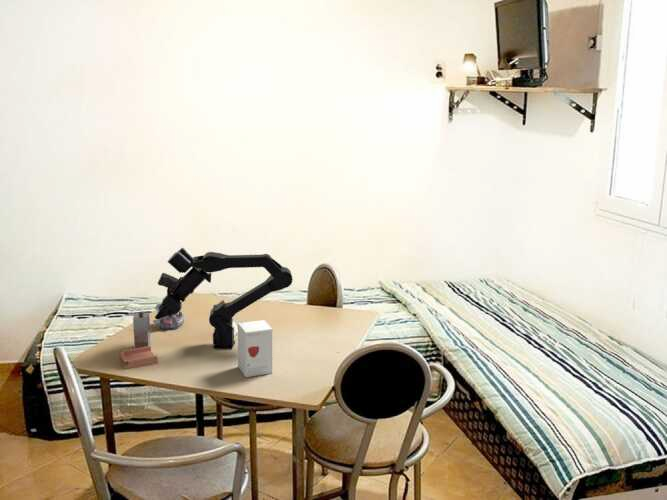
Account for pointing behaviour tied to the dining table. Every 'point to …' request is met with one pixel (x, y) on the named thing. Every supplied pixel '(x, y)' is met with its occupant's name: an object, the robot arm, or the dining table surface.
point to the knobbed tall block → (141, 330)
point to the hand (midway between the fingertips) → (157, 313)
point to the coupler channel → (137, 357)
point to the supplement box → (255, 348)
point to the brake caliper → (169, 320)
